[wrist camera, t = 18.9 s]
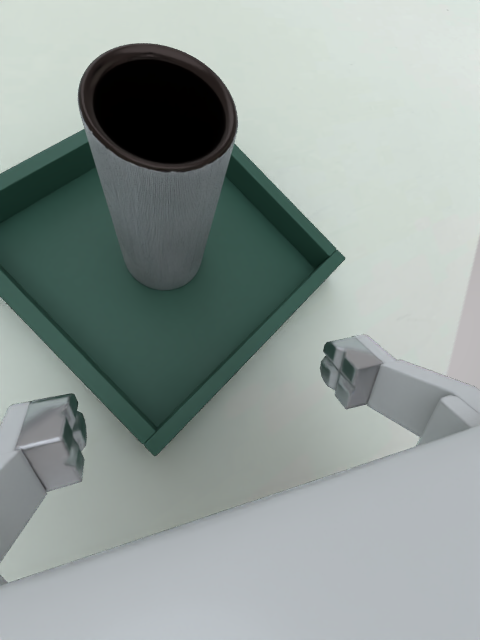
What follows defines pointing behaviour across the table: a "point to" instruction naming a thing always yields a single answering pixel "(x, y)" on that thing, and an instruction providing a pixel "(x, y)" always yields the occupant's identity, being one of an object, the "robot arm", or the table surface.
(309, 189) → the table surface
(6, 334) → the table surface
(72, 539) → the table surface
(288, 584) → the robot arm
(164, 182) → the planter
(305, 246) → the tray
